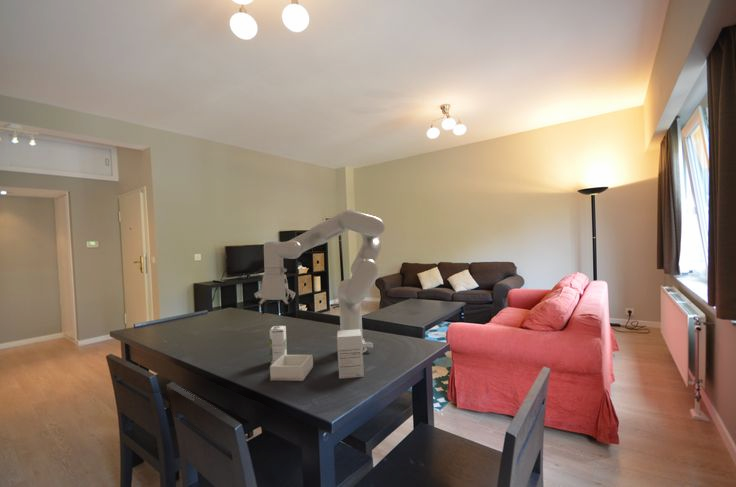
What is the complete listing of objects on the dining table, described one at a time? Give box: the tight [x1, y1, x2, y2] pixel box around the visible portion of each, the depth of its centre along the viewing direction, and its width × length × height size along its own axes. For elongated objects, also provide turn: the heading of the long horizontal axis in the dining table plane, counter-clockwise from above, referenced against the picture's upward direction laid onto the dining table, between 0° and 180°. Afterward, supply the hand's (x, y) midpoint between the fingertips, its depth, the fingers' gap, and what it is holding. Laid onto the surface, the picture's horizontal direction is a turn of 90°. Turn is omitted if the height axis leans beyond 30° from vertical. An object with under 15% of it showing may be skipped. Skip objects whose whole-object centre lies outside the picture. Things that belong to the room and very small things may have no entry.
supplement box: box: [336, 329, 365, 380], centre depth 121 cm, size 9×9×15 cm
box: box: [269, 354, 314, 382], centre depth 123 cm, size 12×12×5 cm
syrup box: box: [269, 325, 288, 366], centre depth 136 cm, size 6×6×14 cm
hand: (275, 313), depth 135 cm, fingers open, 9 cm apart
